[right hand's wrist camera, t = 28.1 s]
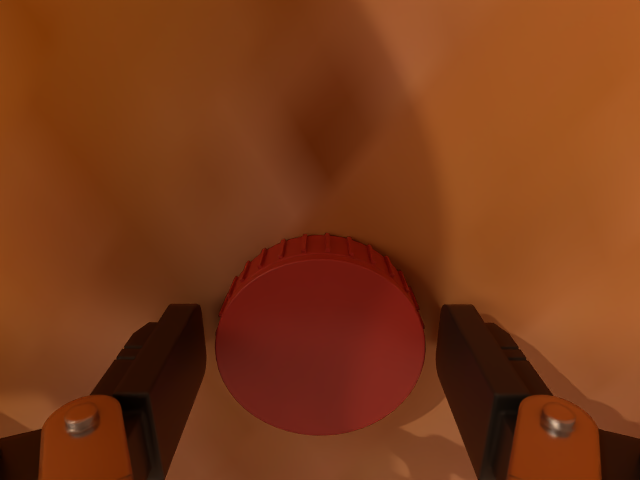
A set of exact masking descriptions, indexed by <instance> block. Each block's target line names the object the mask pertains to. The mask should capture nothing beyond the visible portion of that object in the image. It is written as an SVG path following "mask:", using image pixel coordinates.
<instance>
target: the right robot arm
mask: <svg viewBox="0 0 640 480" xmlns="http://www.w3.org/2000/svg"><path fill="white" fill-rule="evenodd" d="M205 368H206V346H205V338H204V329H203V320H202V312H201V308H200V305H199V304H170V305H169V306H168V307H167V309H166V310H165V312H164V314H163V315H162V317H161V318H160V320H159V321H158V322H149V323H147V324H146V325H145V326H143V327H142V328H140V329H139V330H138V331H136V332H135V333H133V335H132V336H131V338H130V339H129V340H128V342H127V343H126V345H125V346H124V349H122V350H121V352H120V353H119V354H118V356H117V359H116V360H114V362H113V363H112V364H111V366H110V367H109V369H108V370H107V371H106V373H105V374H104V376H103V377H102V379H101V380H100V381H99V383H98V384H97V386H96V387H95V388H94V390H93V391H92V393H91V394H90V396H85V397H81V398H79V399H76V400H73V401H71V402H69V403H67V404H65V405H63V406H62V407H60V408H59V409H57V410H56V411H55V412H54V413H53V414H51V416H50V417H49V418H48V419H47V420H46V422H45V423H44V425H43V427H42V429H39V430H35V431H31V432H26V433H22V434H18V435H13V436H9V437H5V438H0V480H165V477H166V474H167V472H168V469H169V467H170V464H171V461H172V459H173V456H174V453H175V451H176V448H177V445H178V443H179V440H180V438H181V435H182V432H183V430H184V427H185V424H186V422H187V419H188V416H189V414H190V411H191V409H192V406H193V403H194V401H195V398H196V395H197V393H198V390H199V387H200V385H201V382H202V379H203V377H204V373H205ZM436 368H437V373H438V377H439V380H440V382H441V385H442V387H443V390H444V393H445V395H446V398H447V400H448V403H449V406H450V408H451V411H452V413H453V416H454V419H455V421H456V424H457V426H458V429H459V432H460V434H461V437H462V439H463V442H464V444H465V447H466V450H467V452H468V455H469V457H470V460H471V463H472V465H473V468H474V470H475V473H476V476H477V478H478V480H640V439H638V438H634V437H630V436H625V435H621V434H616V433H612V432H608V431H604V430H601V429H598V427H597V425H596V423H595V422H594V420H593V419H592V418H591V417H590V416H589V414H587V413H586V412H585V411H584V410H583V409H581V408H580V407H578V406H577V405H575V404H573V403H571V402H569V401H567V400H564V399H561V398H559V397H555V396H553V395H552V393H551V392H550V390H549V389H548V388H547V386H546V385H545V383H544V382H543V381H542V379H541V378H540V376H539V375H538V374H537V372H536V371H535V369H534V368H533V367H532V365H531V364H530V362H529V361H527V360H526V357H525V355H524V354H523V353H522V351H521V350H519V349H518V346H517V344H516V343H515V341H514V340H513V339H512V337H511V336H510V334H508V333H507V332H506V331H504V330H503V329H501V328H500V327H498V326H497V325H496V324H494V323H484V321H483V320H482V318H481V316H480V315H479V313H478V312H477V310H476V309H475V307H474V306H473V305H443V306H442V309H441V314H440V323H439V331H438V340H437V348H436Z"/></svg>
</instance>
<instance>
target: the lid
mask: <svg viewBox="0 0 640 480" xmlns="http://www.w3.org/2000/svg"><path fill="white" fill-rule="evenodd" d="M418 310H420V308H419V306H418V304H417V301H416V299H415V296H414V294H413V292H412V289H411V287H408V285H407V283H406V280H405V278H404V275H403V273H402V271H401V270H400V271H397V269H396V268H395V267H394V266H393V265H392V264H391V262H390V259H389V257H387V256H385V257H383V256H382V255H381V254H379V253H378V252H377V251H375V250H373V249H372V246H371V245H369V244H368V245H367V246H366V245H364V244H361V243H359V242H356V241H354V240H352V238H351V237H347V239H346V238H343V237H337V236H330V234H329V233H325V235H312V236H307V234H303V237H298V238H294V239H290V240H287V241H286V239H283V240H281V243H279V244H277V245H275V246H273V247H271V248H269V249H266V248H264V249H262V252H261V254H260V255H258V256H257V257H256V258H255V259H254V260H253V261H252V262H250V261H248V262H247V263H246V265H245V268H244V270H243V272H242V273H241V274H240V276H239V277H237V276H235V278H234V280H233V283H232V285H231V288H230V290H229V293H227V296H226V298H225V301H224V303H223V306H222V308H221V310H220V313H219V317H221V319H220V322H219V324H218V328H217V330H216V340H215V353H216V361H217V365H218V369H219V372H220V374H221V377H222V379H223V382H224V383H225V385H226V387H227V388H228V390H229V392H230V393H231V394H232V395H233V397H234V398H235V399H236V401H238V402H239V403H240V404H241V405H242V406H243V407H244V408H245V409H246V410H247V411H249V412H250V413H251V414H252V415H254V416H255V417H257V418H259V419H260V420H262V421H264V422H265V423H268V424H270V425H272V426H274V427H277V428H280V429H283V430H286V431H289V432H294V433H298V434H306V435H335V434H342V433H347V432H351V431H355V430H358V429H361V428H364V427H366V426H368V425H371V424H373V423H375V422H377V421H379V420H380V419H382V418H384V417H385V416H387V415H388V414H389V413H391V412H392V411H394V410H395V409H396V408H397V407H398V406H399V405H400V404H401V403H402V402H403V401H404V400H405V399H406V397H407V396H408V395H409V394H410V392H411V391H412V389H413V388H414V386H415V385H416V383H417V380H418V378H419V376H420V374H421V371H422V367H423V364H424V358H425V335H424V330H423V329H425V328H424V324H423V321H422V319H421V316H420V314H419V311H418Z"/></svg>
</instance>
